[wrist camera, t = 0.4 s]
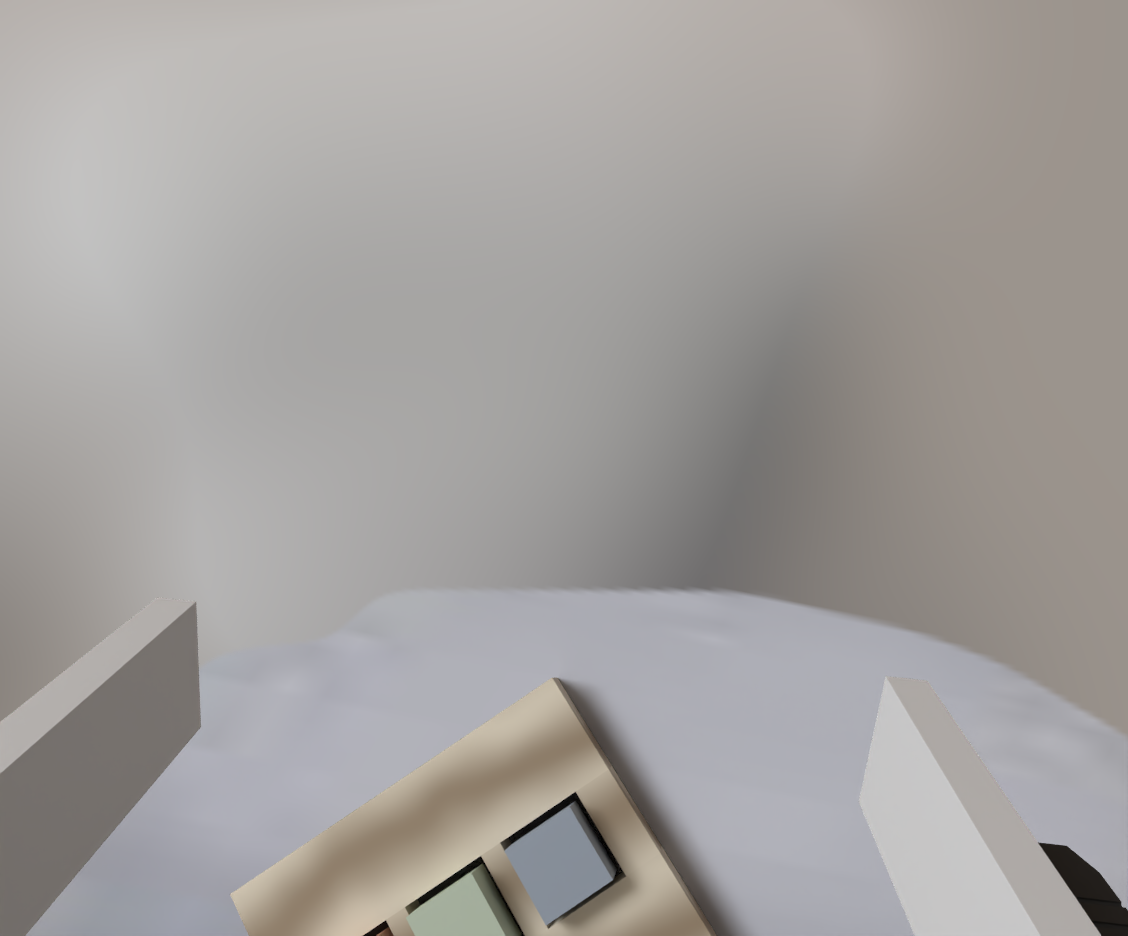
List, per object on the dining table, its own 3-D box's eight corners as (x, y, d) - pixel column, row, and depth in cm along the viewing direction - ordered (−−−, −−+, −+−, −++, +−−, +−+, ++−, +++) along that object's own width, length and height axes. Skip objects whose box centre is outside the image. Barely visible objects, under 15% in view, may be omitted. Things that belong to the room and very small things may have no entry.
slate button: (616, 869, 44) (612, 880, 42) (553, 912, 44) (546, 925, 42) (575, 800, 45) (569, 806, 43) (513, 842, 45) (504, 851, 43)
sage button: (521, 933, 44) (512, 948, 42) (458, 977, 44) (445, 994, 42) (482, 863, 45) (471, 873, 43) (420, 904, 45) (405, 917, 43)
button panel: (722, 945, 44) (724, 957, 42) (383, 1177, 43) (369, 1200, 41) (557, 677, 48) (552, 677, 46) (248, 885, 48) (230, 894, 46)
